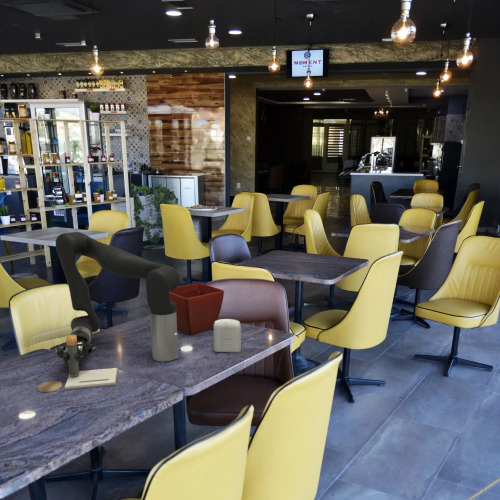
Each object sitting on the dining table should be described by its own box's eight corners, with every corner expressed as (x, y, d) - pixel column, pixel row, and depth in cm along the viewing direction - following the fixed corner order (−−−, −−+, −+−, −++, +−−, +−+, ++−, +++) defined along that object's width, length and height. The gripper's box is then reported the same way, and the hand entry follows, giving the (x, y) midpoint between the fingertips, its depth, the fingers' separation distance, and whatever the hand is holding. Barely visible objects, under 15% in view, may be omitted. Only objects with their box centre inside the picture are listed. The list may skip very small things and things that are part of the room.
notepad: (118, 370, 169) (118, 367, 168) (116, 385, 157) (116, 382, 157) (69, 374, 166) (69, 371, 165) (63, 390, 154) (63, 387, 154)
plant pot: (200, 318, 223) (199, 281, 220) (226, 328, 209) (225, 290, 205) (163, 327, 211) (162, 289, 208) (187, 339, 197) (186, 298, 193)
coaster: (63, 381, 160) (63, 380, 160) (59, 391, 153) (59, 389, 153) (40, 383, 159) (40, 382, 159) (36, 393, 152) (35, 392, 152)
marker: (80, 373, 164) (77, 334, 161) (78, 377, 161) (75, 337, 158) (70, 373, 163) (66, 335, 161) (68, 378, 160) (65, 338, 158)
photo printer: (241, 348, 186) (241, 317, 184) (240, 353, 182) (240, 321, 180) (214, 348, 187) (213, 317, 185) (213, 352, 183) (212, 321, 181)
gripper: (57, 331, 172) (47, 349, 156) (99, 328, 175) (93, 346, 158) (59, 351, 174) (49, 372, 157) (100, 348, 176) (95, 368, 160)
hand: (71, 358), depth 158 cm, fingers closed on marker, 3 cm apart
